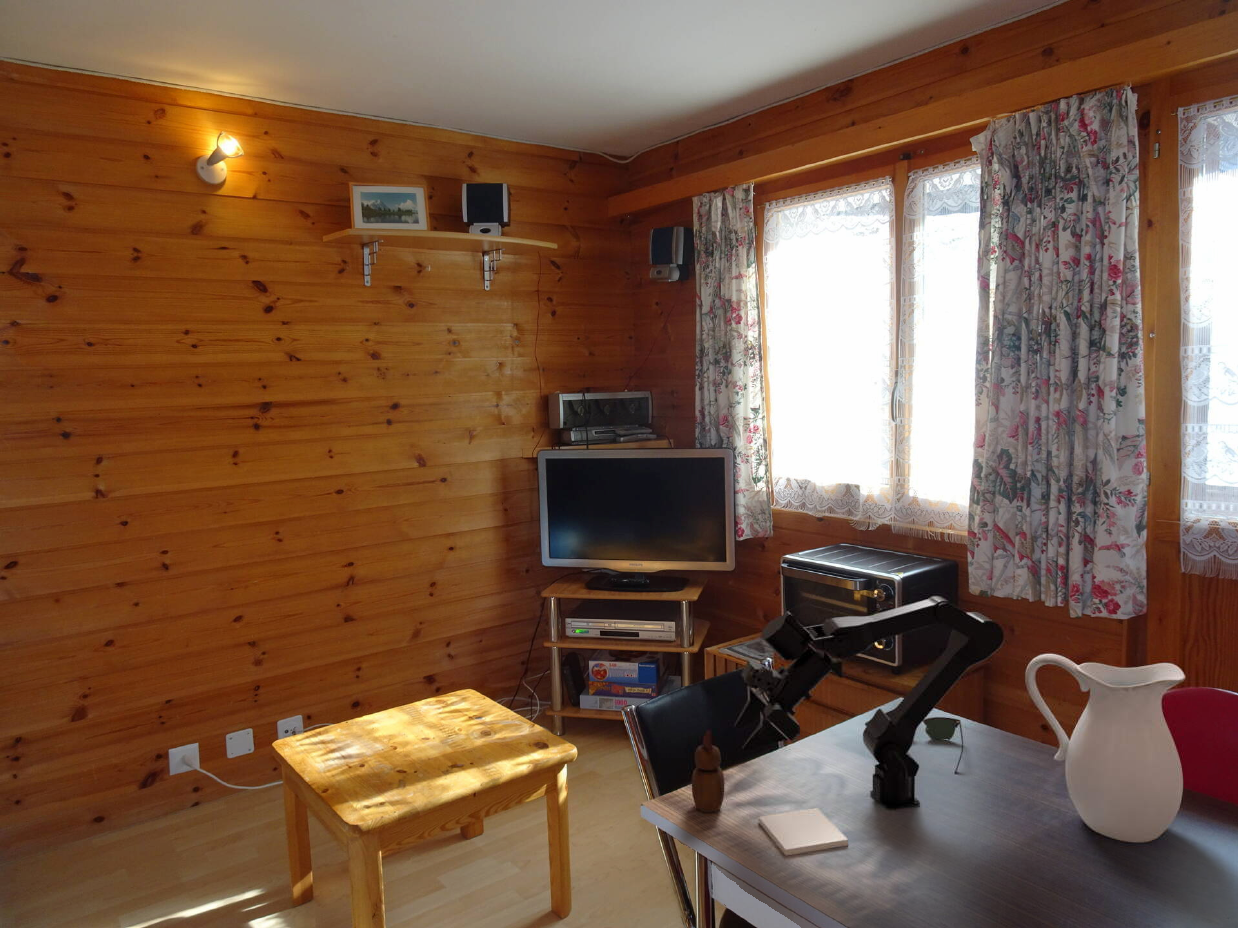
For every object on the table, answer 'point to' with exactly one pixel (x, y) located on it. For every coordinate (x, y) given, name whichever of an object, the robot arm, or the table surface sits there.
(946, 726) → the sunglasses
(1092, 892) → the table surface
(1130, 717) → the pitcher
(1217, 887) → the table surface
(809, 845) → the display tile
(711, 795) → the wooden figurine
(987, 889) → the table surface
